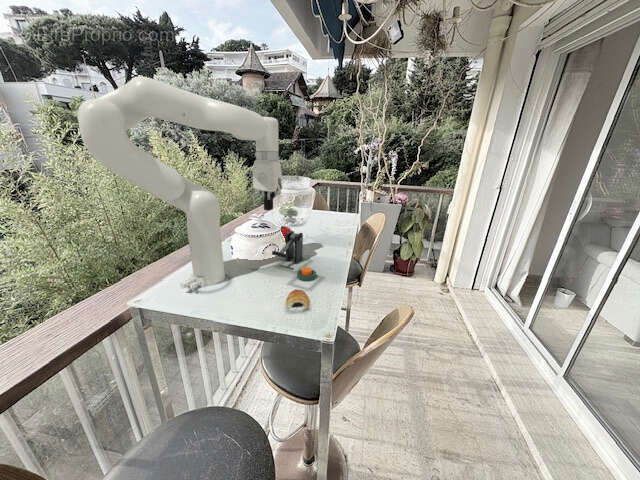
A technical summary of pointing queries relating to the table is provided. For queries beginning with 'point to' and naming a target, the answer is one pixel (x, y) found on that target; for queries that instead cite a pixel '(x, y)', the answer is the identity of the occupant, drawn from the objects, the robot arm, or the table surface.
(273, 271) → the table surface
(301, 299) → the pastry
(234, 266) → the table surface
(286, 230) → the tomato
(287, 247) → the lever
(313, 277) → the button box
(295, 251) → the bracket
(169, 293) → the table surface
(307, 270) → the button
